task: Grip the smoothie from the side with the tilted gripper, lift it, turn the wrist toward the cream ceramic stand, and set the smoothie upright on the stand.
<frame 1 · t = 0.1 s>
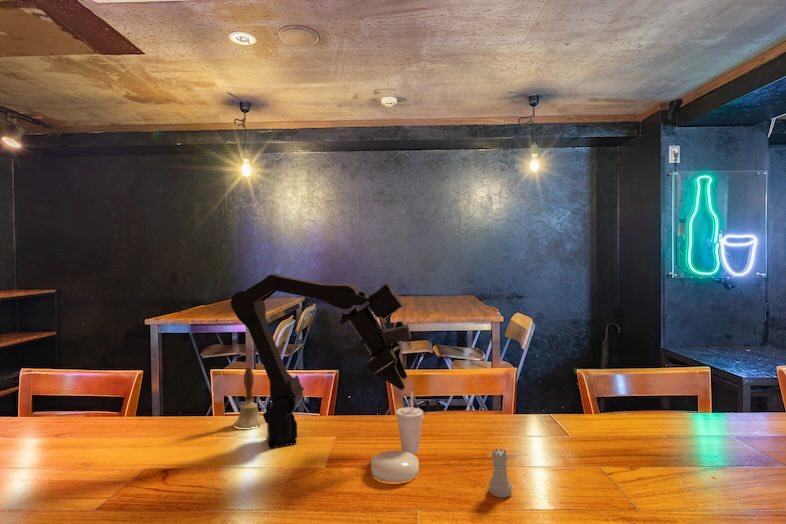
hand: (404, 383, 108), 15 cm above the table, tool tilted 35°, fingers open, 9 cm apart
smoothie: (410, 454, 104), on the table
hand bell: (249, 425, 124), on the table
rook chess piece: (500, 493, 86), on the table
stand: (395, 472, 94), on the table
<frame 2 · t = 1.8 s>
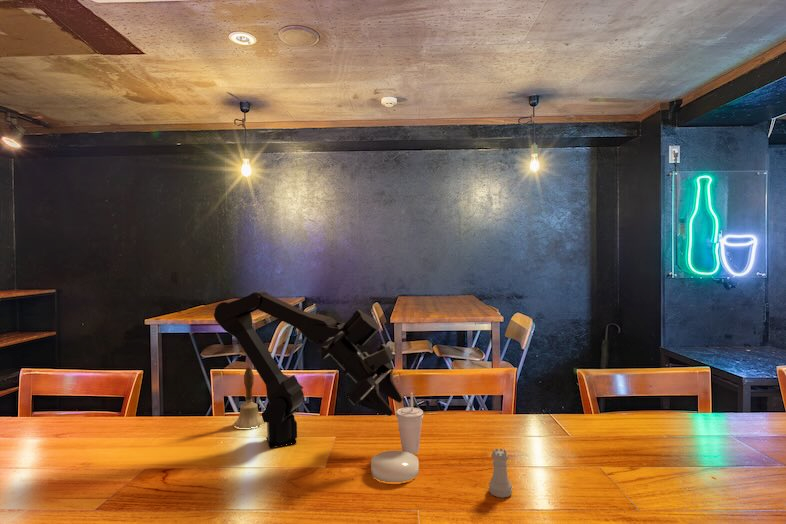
hand: (396, 407, 104), 10 cm above the table, tool tilted 45°, fingers open, 9 cm apart
nothing on the table moved.
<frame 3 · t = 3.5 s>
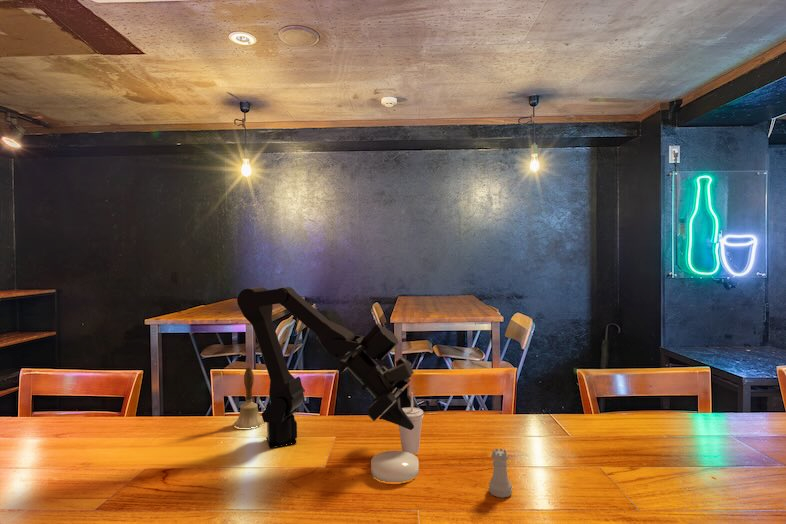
hand: (415, 423, 103), 7 cm above the table, tool tilted 45°, fingers closed on smoothie, 6 cm apart
smoothie: (410, 454, 104), on the table, touching gripper
everything else where it was.
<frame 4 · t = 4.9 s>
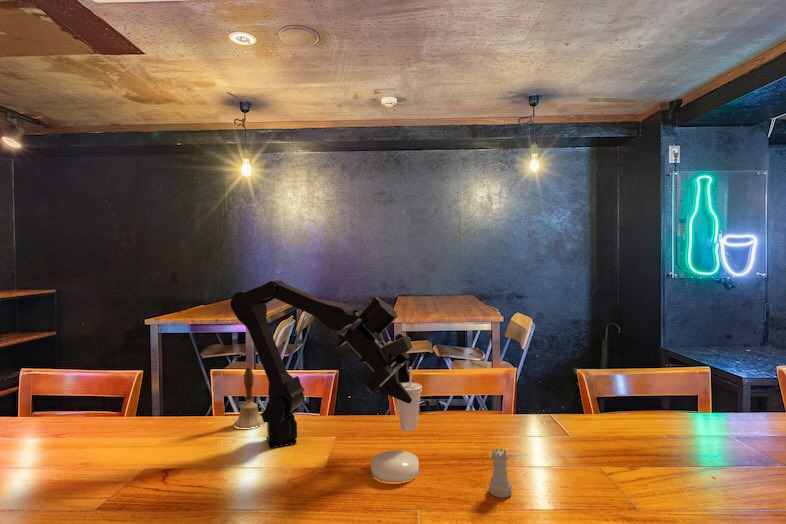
hand: (414, 397, 102), 13 cm above the table, tool tilted 45°, fingers closed on smoothie, 6 cm apart
smoothie: (408, 428, 103), point 6 cm above the table, touching gripper
everything else where it was.
when the fingers open (10 cm above the table, at t = 6.8 s): smoothie stays where it is, resting on stand.
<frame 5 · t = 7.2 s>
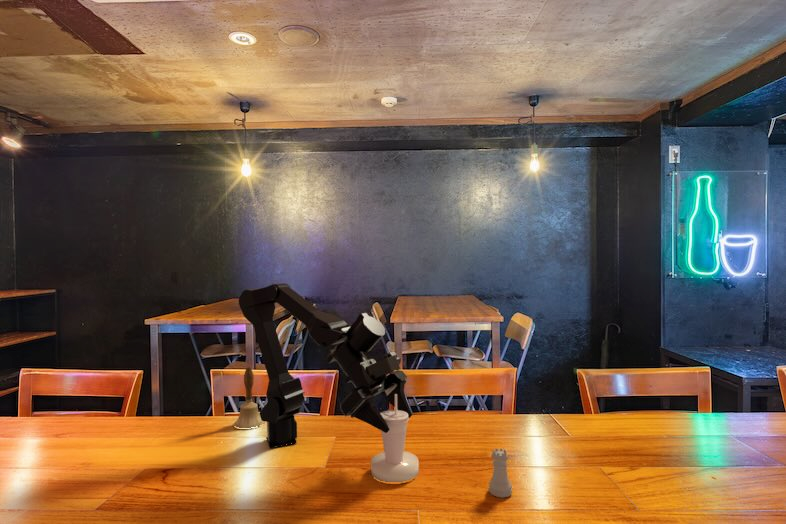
hand: (399, 423, 93), 11 cm above the table, tool tilted 45°, fingers open, 9 cm apart
smoothie: (394, 461, 94), point 2 cm above the table, touching stand
everything else where it was.
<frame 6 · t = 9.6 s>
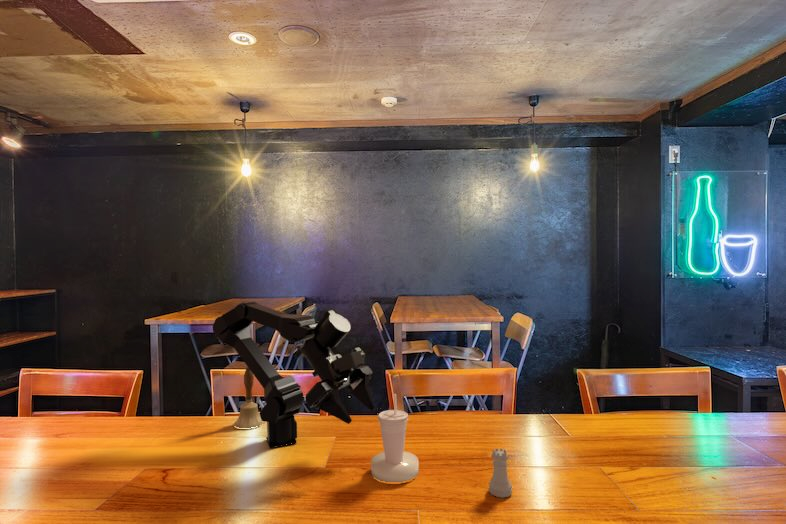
hand: (362, 415, 99), 11 cm above the table, tool tilted 45°, fingers open, 9 cm apart
nothing on the table moved.
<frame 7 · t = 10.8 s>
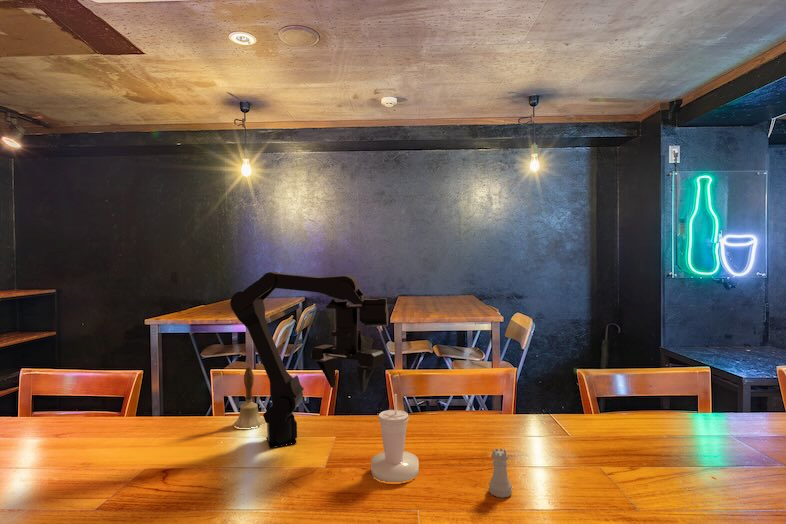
hand: (347, 389, 110), 13 cm above the table, tool pointing down, fingers open, 9 cm apart
nothing on the table moved.
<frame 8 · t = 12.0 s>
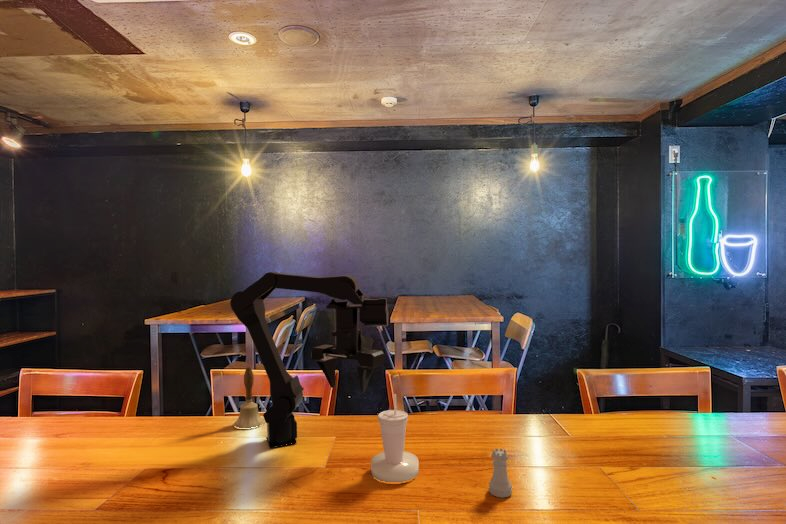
hand: (347, 390, 110), 13 cm above the table, tool pointing down, fingers open, 9 cm apart
nothing on the table moved.
at the end: smoothie 0.2 cm off-centre on the stand, point 2.3 cm above the stand's base; smoothie tilted 0°; the gripper is holding nothing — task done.
